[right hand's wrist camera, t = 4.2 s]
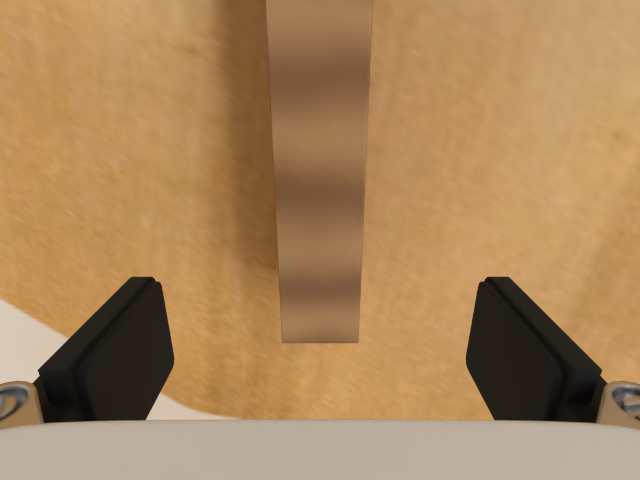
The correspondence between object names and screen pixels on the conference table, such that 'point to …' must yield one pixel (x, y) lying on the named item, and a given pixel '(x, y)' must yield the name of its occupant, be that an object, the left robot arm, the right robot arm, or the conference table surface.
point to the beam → (319, 161)
